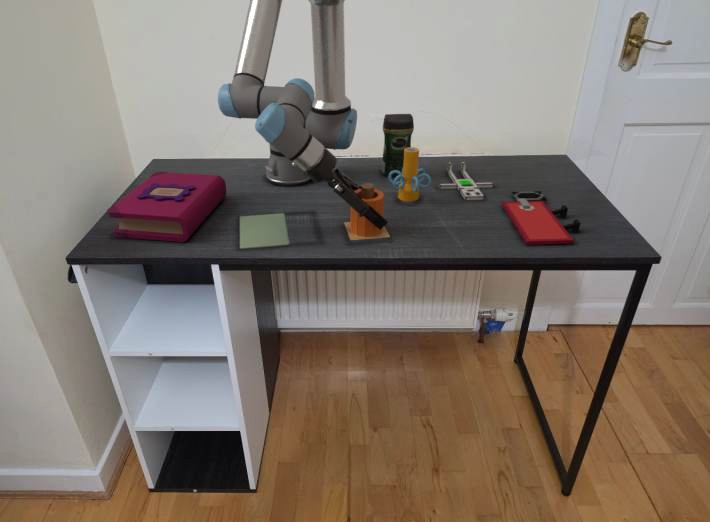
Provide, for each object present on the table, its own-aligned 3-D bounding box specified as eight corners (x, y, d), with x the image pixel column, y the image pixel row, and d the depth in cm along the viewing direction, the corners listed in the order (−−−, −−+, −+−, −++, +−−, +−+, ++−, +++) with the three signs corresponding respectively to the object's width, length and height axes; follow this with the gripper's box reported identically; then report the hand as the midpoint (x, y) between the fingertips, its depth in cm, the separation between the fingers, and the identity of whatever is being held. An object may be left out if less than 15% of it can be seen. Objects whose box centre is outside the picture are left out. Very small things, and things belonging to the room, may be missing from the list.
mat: (239, 217, 141) (239, 216, 141) (312, 212, 144) (312, 210, 144) (240, 249, 127) (239, 248, 126) (321, 242, 129) (321, 241, 129)
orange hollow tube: (348, 223, 135) (348, 189, 130) (378, 221, 136) (379, 187, 131) (353, 237, 129) (354, 202, 123) (385, 235, 130) (387, 200, 124)
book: (227, 198, 152) (224, 173, 148) (189, 243, 129) (183, 215, 125) (160, 193, 156) (155, 169, 151) (111, 237, 132) (103, 209, 128)
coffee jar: (409, 168, 172) (413, 110, 161) (412, 176, 165) (417, 117, 155) (379, 168, 171) (381, 111, 161) (382, 177, 165) (384, 118, 155)
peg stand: (343, 226, 136) (343, 179, 129) (381, 223, 138) (383, 176, 131) (350, 244, 128) (350, 195, 121) (390, 241, 129) (392, 192, 122)
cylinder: (432, 196, 152) (437, 145, 144) (425, 210, 144) (430, 158, 136) (391, 191, 156) (394, 141, 147) (382, 205, 147) (385, 153, 139)
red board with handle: (546, 194, 152) (494, 195, 152) (548, 185, 150) (496, 186, 151) (587, 244, 127) (526, 246, 127) (590, 234, 126) (528, 236, 126)
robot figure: (430, 173, 168) (446, 201, 149) (431, 163, 166) (447, 190, 148) (480, 171, 168) (502, 199, 150) (482, 161, 167) (504, 188, 148)
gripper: (299, 156, 130) (361, 210, 141) (308, 189, 113) (378, 247, 124) (319, 134, 128) (381, 191, 139) (332, 163, 111) (401, 226, 121)
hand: (379, 217), depth 131 cm, fingers closed on orange hollow tube, 8 cm apart
